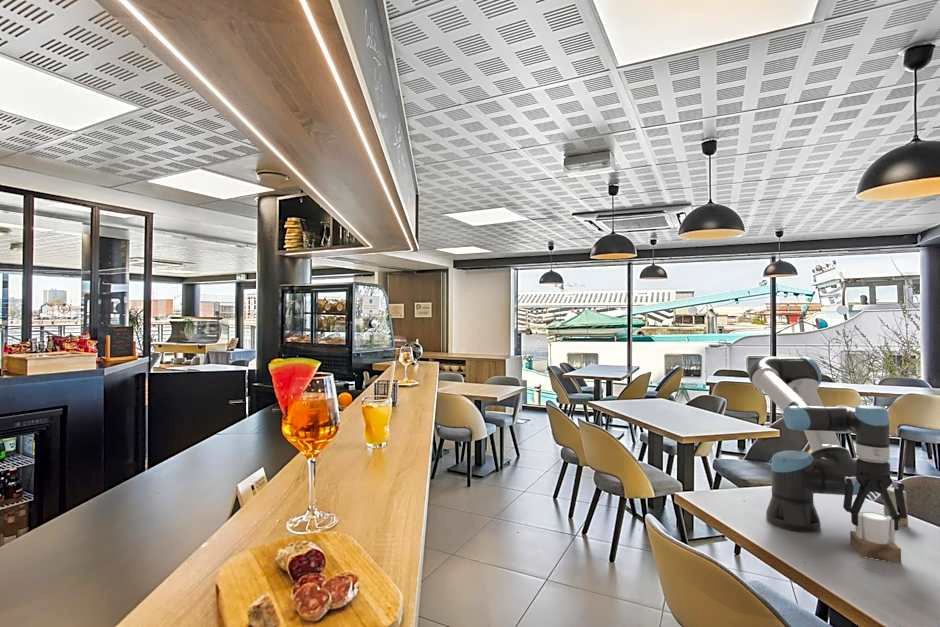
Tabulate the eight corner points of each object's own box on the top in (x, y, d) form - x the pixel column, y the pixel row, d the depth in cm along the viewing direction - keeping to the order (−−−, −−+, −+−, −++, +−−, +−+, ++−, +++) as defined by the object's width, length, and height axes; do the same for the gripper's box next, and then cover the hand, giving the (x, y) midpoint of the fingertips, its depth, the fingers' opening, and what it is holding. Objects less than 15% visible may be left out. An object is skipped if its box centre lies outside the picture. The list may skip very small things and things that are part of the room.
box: (908, 526, 158) (907, 492, 159) (893, 525, 159) (892, 491, 159) (897, 519, 163) (897, 487, 164) (883, 518, 164) (882, 486, 165)
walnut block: (861, 557, 138) (861, 543, 138) (850, 544, 146) (850, 530, 146) (901, 563, 134) (900, 549, 134) (887, 549, 143) (887, 535, 143)
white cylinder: (853, 535, 143) (853, 511, 143) (875, 534, 144) (874, 510, 144) (875, 545, 136) (874, 521, 136) (897, 544, 137) (896, 520, 137)
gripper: (836, 459, 141) (837, 538, 140) (922, 466, 133) (924, 550, 133) (828, 452, 148) (829, 528, 147) (909, 459, 140) (911, 538, 140)
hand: (874, 538), depth 140 cm, fingers closed on white cylinder, 7 cm apart
